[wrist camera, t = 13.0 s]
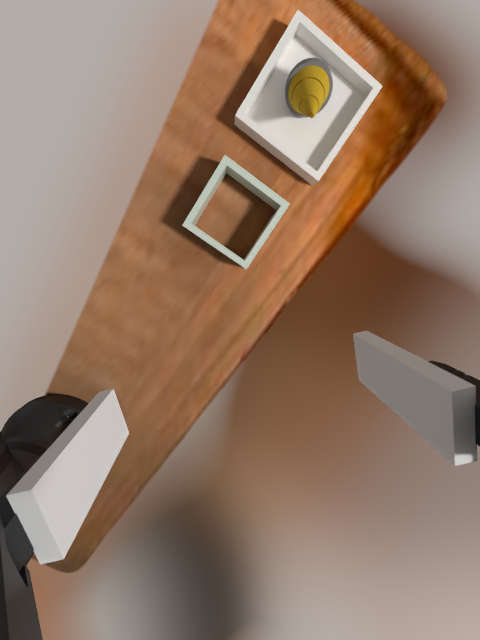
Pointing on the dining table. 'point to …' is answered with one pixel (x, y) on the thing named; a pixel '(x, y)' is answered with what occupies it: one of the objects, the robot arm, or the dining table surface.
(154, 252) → the dining table surface
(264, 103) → the tray
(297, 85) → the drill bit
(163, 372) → the dining table surface
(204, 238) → the pale green square frame
